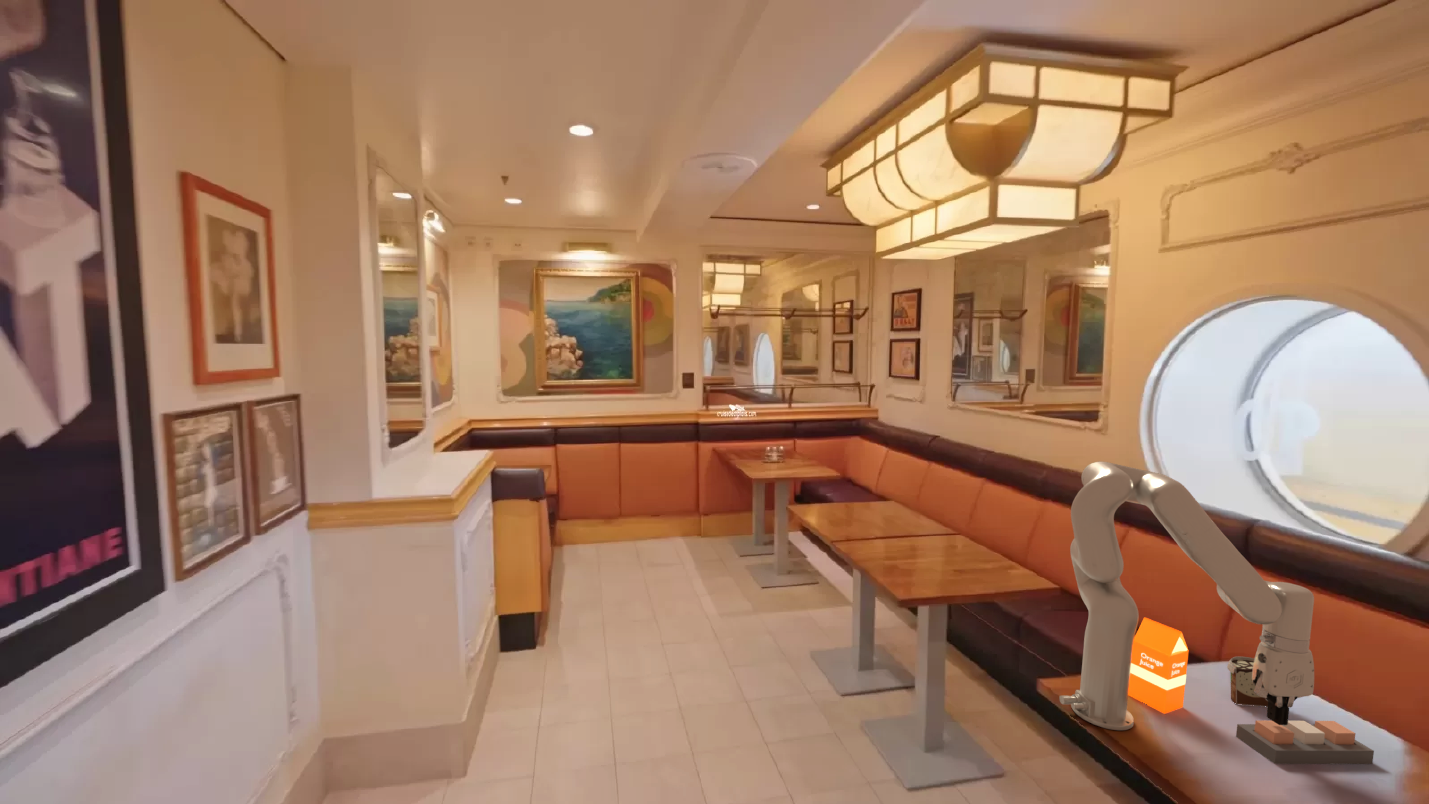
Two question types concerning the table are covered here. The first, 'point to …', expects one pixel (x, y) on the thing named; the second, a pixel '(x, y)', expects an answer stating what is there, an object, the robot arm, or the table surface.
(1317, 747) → the control panel
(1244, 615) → the robot arm
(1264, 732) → the inner button
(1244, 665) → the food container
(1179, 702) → the orange juice
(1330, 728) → the outer button
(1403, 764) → the table surface
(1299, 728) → the middle button
